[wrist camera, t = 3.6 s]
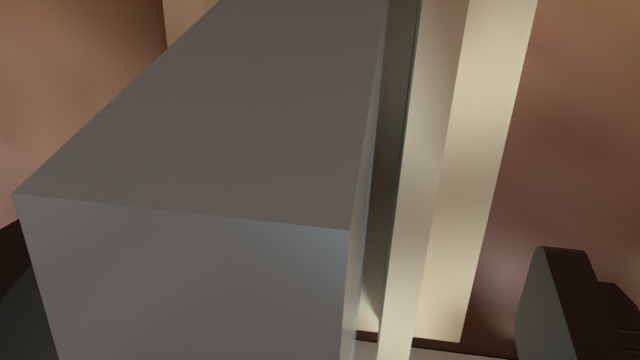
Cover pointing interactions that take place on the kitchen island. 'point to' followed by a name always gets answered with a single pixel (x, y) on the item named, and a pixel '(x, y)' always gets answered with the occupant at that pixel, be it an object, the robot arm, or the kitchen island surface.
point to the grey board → (219, 193)
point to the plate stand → (429, 157)
